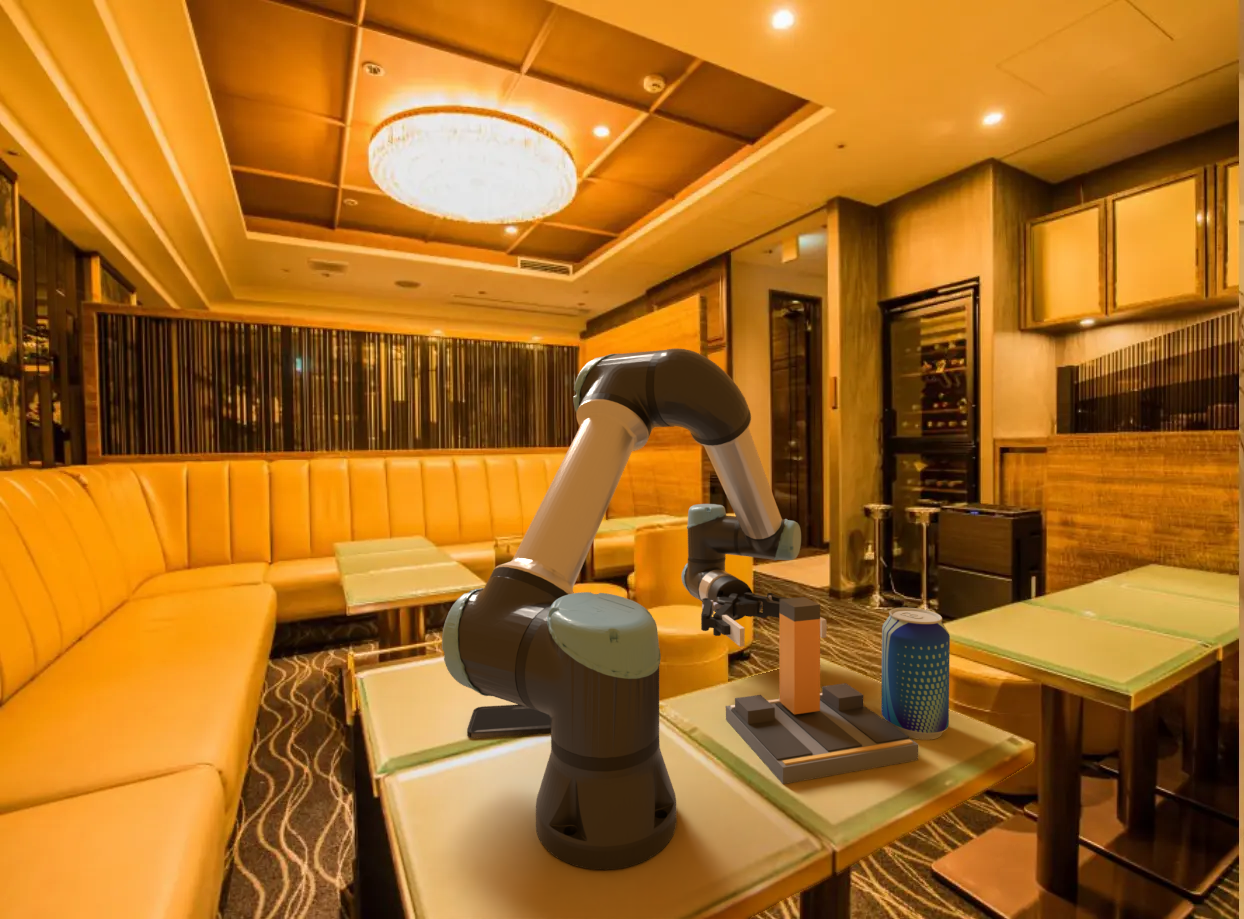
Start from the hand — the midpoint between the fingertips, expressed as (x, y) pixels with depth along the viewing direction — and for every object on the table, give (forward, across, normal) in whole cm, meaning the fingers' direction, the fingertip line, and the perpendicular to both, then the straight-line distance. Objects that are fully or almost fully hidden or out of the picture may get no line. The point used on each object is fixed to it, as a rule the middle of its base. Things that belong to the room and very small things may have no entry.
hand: (784, 633), depth 87 cm
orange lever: (+5, 0, -9) cm, 10 cm away
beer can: (+10, -15, -12) cm, 21 cm away
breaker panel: (+9, 0, -11) cm, 15 cm away
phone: (-6, +39, -12) cm, 41 cm away
